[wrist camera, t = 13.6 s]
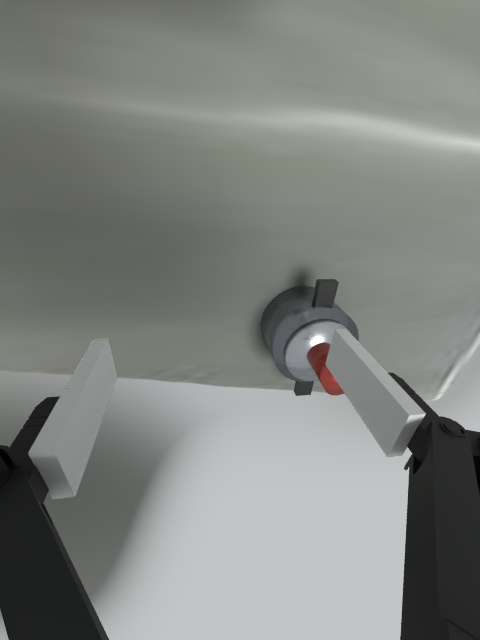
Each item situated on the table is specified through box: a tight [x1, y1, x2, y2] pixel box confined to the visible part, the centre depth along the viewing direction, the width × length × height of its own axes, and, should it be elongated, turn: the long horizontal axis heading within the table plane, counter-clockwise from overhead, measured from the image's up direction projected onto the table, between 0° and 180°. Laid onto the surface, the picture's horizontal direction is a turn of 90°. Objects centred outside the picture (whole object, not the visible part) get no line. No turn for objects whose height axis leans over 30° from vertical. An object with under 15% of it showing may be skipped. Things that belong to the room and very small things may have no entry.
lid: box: [283, 318, 350, 395], centre depth 39 cm, size 11×11×8 cm
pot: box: [261, 279, 358, 396], centre depth 47 cm, size 22×14×9 cm, turn 177°
